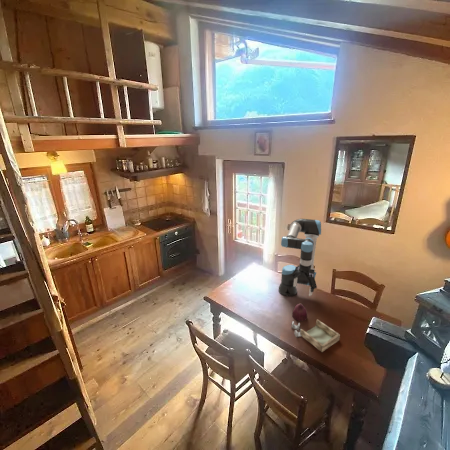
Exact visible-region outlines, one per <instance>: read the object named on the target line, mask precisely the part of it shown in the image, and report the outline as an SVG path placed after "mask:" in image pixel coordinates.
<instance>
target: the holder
mask: <svg viewBox="0 0 450 450" xmlns="http://www.w3.org/2000/svg"><path fill="white" fill-rule="evenodd" d="M300 329H301V332H300V331H299V332H300V334H301V335H302V336H301V337H302V338H303V339H304V340H306V341H307V342H308V343H310V345H312V346H314V347H315V348H316V349H317V350H318V351H320V352H321V353H324V352H325V351H326V350H328V349H329V348H330V347H332V346H333V345H335V344H336V343H338V342H339V341H340V339H341V337H340V336H341V334H340V333H339V332H337V331H335V330H334V329H332V327H330V326H328V325H327V324H326V323H324V322H322V321H321V320H320V319H318V318H317V319H316V321H315V325H314V326H313V327H312V328H310V329H308V330H307V331H305V329H302V328H300Z"/></svg>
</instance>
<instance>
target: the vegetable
mask: <svg viewBox="0 0 450 450" xmlns="http://www.w3.org/2000/svg"><path fill="white" fill-rule="evenodd" d="M291 315H292V317H291V318H293V319H294V320H295V321H297V322H305V321H306V320H307V319H308V312H307V309H306V307H305V306H304V305H303V304H302V303H297V304H296V305H295V306H294V308H293V310H292V313H291Z"/></svg>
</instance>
